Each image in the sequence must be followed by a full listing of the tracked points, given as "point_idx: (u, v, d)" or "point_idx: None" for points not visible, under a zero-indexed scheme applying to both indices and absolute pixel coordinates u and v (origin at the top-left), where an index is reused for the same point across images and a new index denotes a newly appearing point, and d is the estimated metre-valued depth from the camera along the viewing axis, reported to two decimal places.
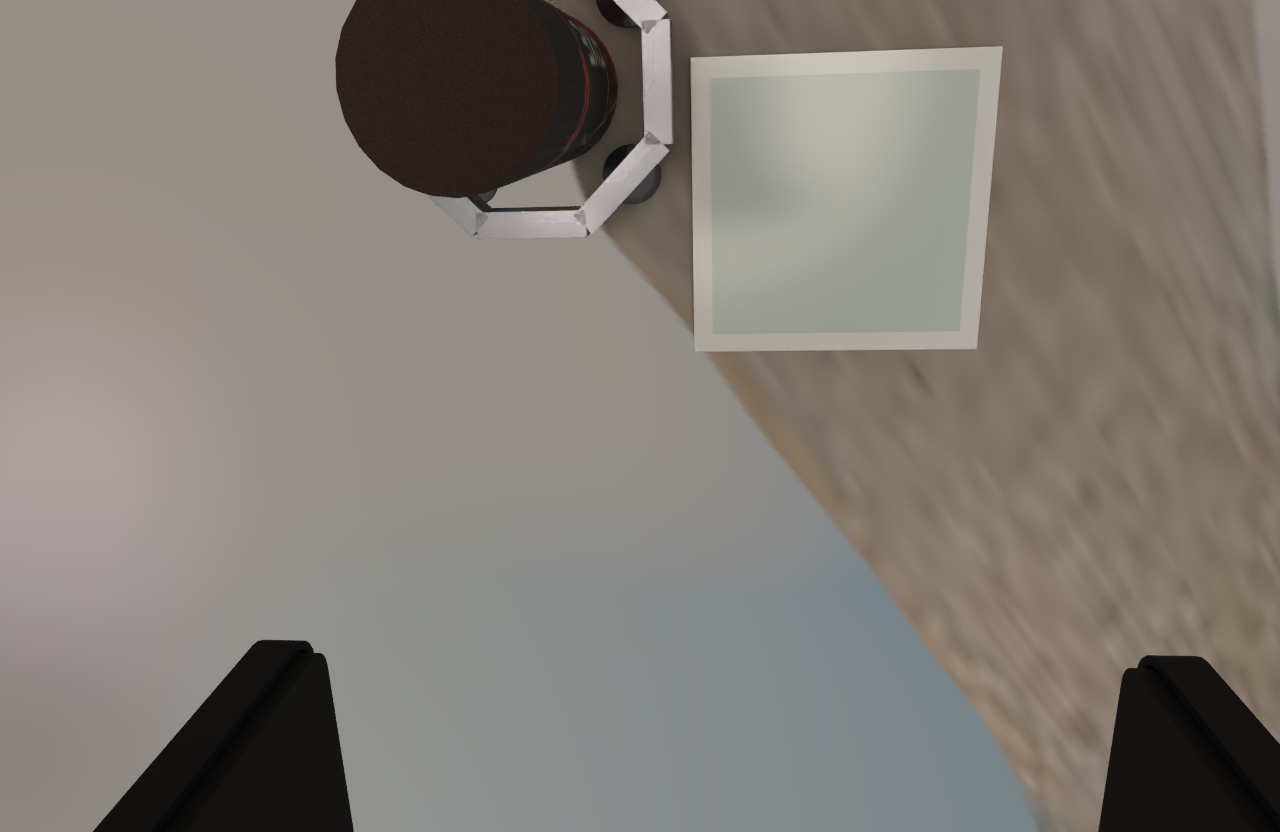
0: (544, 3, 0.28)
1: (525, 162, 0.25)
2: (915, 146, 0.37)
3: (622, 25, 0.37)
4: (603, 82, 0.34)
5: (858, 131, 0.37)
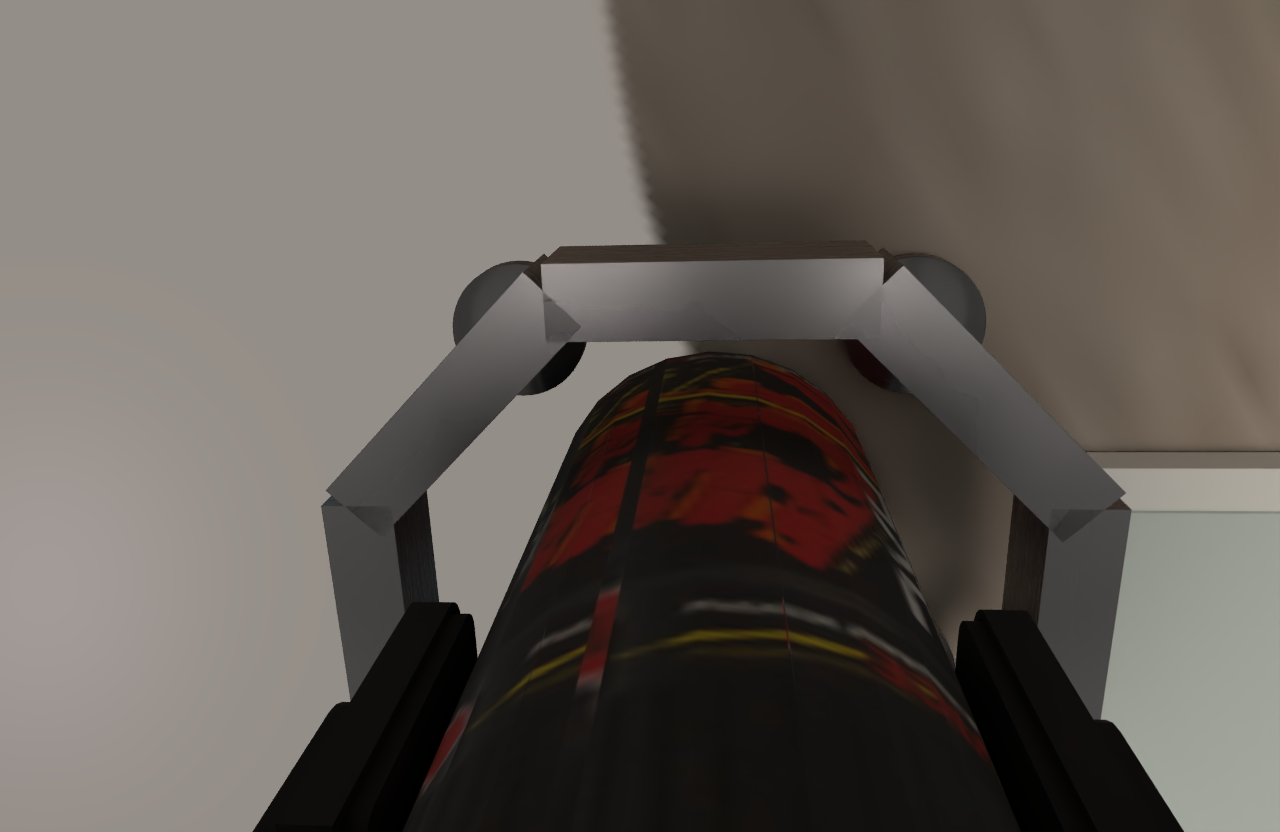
0: (959, 785, 0.07)
1: None
2: None
3: (899, 390, 0.17)
4: None
5: None
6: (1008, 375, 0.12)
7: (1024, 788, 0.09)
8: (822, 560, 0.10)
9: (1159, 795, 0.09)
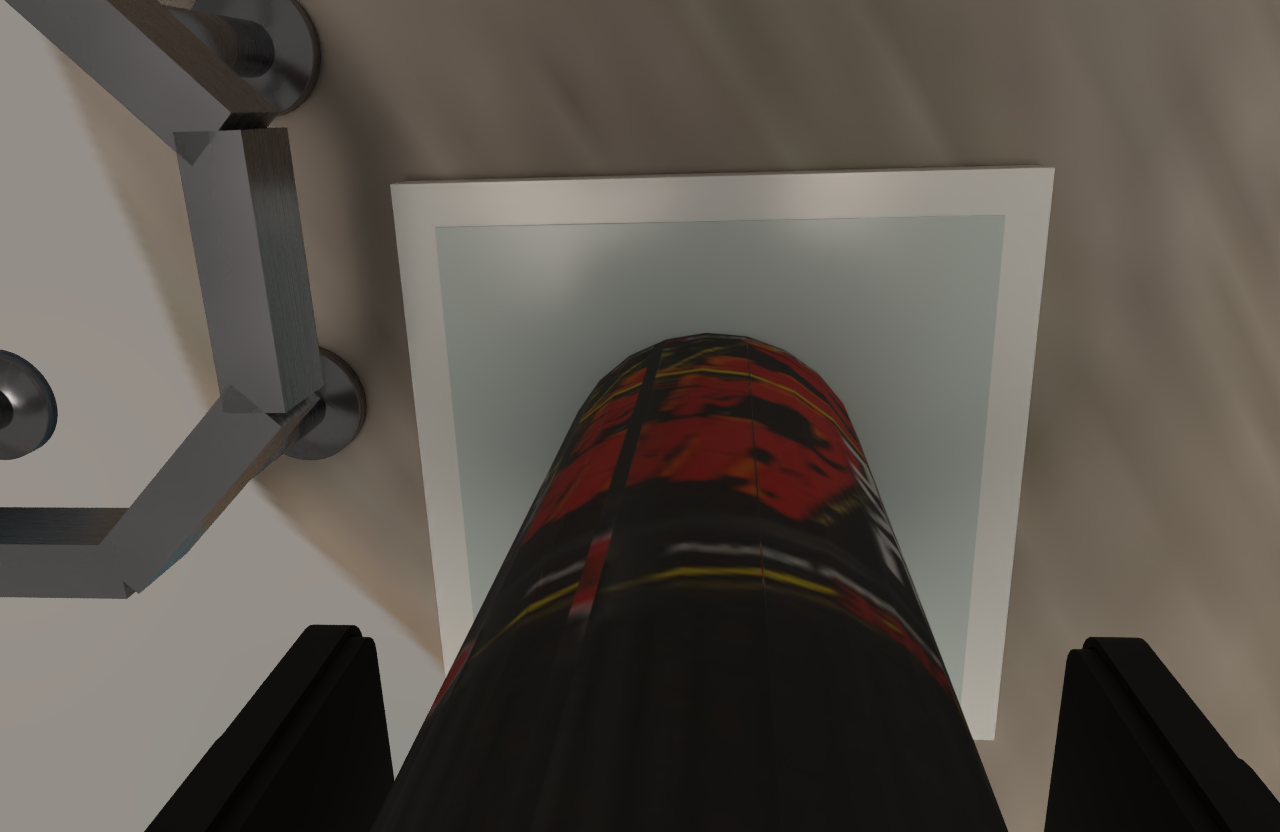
0: (915, 702, 0.08)
1: None
2: (868, 368, 0.18)
3: None
4: None
5: (749, 336, 0.18)
6: None
7: None
8: (800, 512, 0.10)
9: None
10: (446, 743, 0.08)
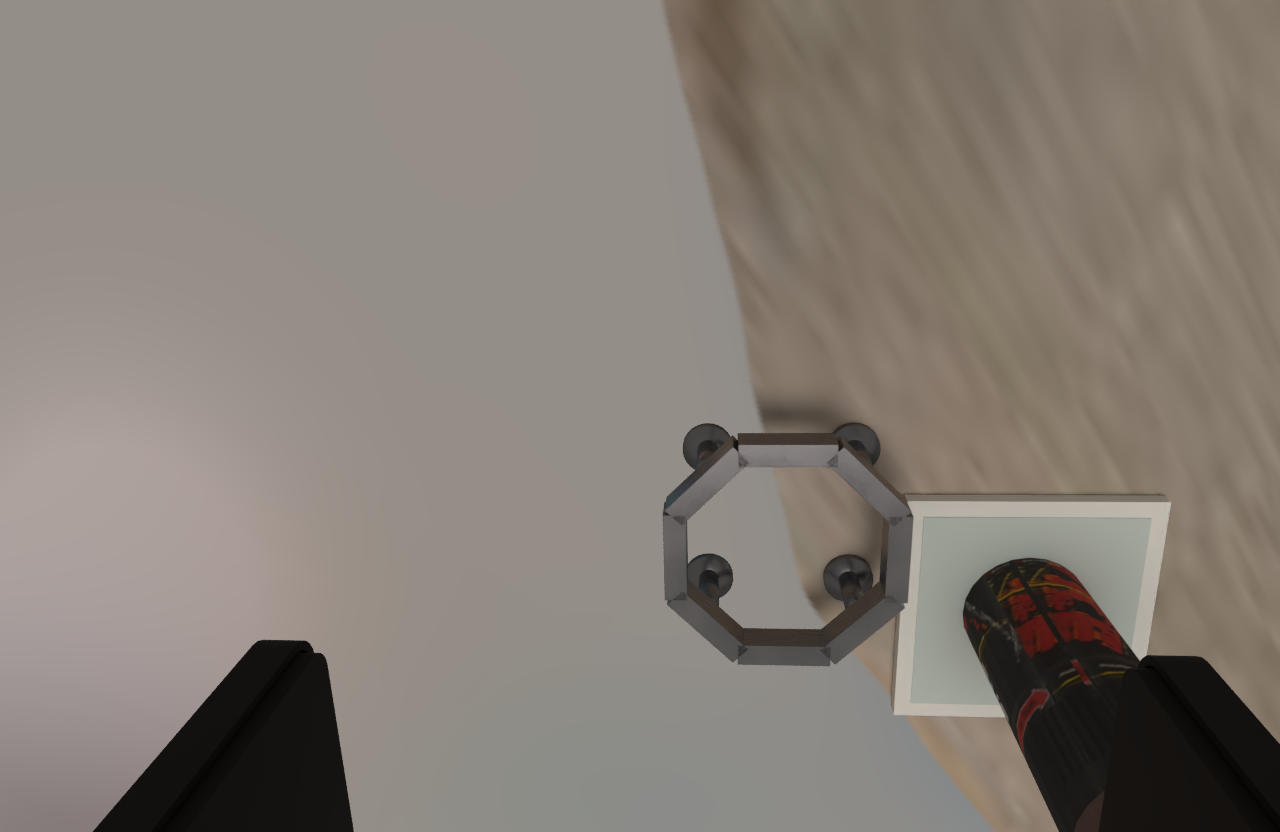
0: None
1: None
2: (1093, 571, 0.45)
3: None
4: None
5: None
6: (875, 477, 0.40)
7: None
8: (1120, 651, 0.37)
9: None
10: (1071, 714, 0.34)
